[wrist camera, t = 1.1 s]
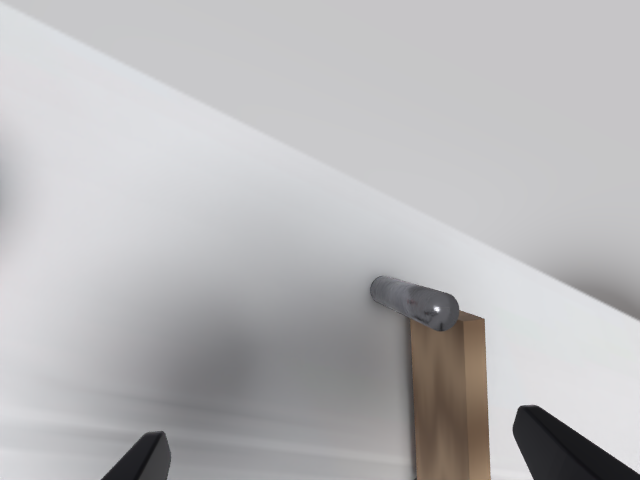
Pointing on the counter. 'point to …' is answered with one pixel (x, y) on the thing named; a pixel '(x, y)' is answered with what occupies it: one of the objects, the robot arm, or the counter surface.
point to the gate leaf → (451, 400)
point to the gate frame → (417, 302)
